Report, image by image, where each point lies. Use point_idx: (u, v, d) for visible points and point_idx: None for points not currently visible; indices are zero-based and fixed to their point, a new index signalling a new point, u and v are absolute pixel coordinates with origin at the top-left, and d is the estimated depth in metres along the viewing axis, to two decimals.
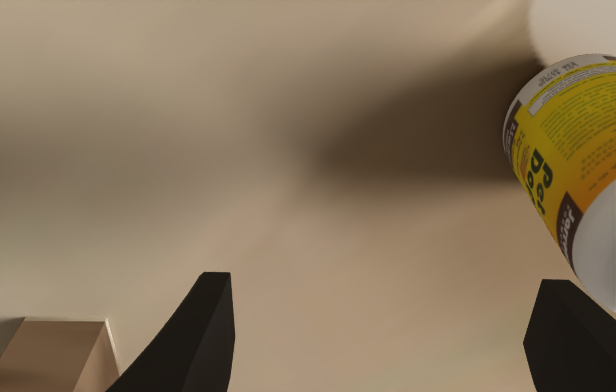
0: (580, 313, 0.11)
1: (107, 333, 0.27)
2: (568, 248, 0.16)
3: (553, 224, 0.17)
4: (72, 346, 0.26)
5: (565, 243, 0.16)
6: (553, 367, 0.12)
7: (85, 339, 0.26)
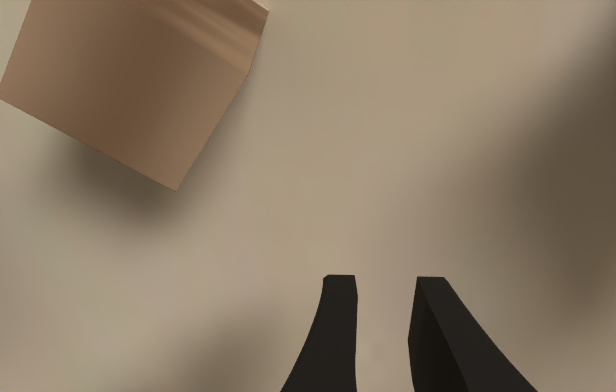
0: (439, 310, 0.11)
1: None
2: None
3: None
4: None
5: None
6: (422, 364, 0.12)
7: None
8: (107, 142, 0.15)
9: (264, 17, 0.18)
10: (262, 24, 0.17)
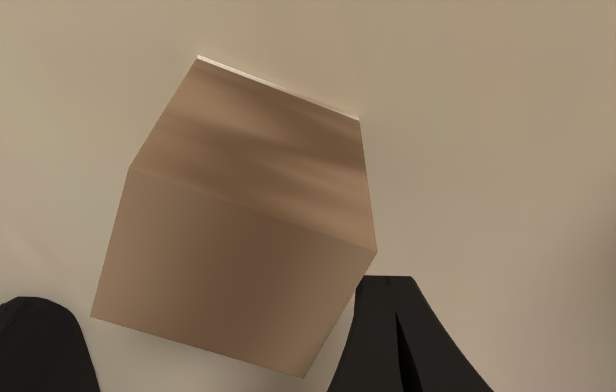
0: (402, 309, 0.11)
1: (222, 69, 0.16)
2: None
3: None
4: None
5: None
6: None
7: None
8: (219, 342, 0.12)
9: (359, 134, 0.16)
10: (361, 148, 0.15)
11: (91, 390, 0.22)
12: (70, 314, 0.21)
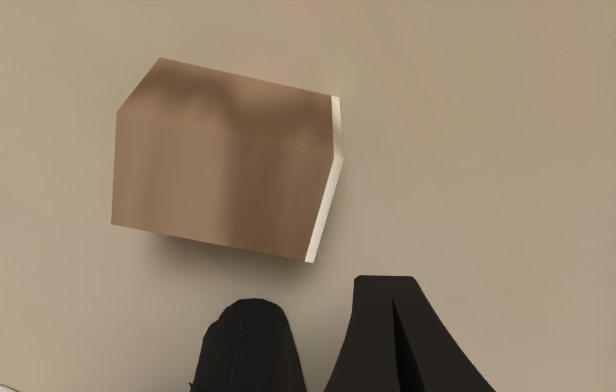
0: (403, 309, 0.11)
1: (331, 104, 0.20)
2: None
3: None
4: None
5: None
6: None
7: None
8: None
9: (300, 149, 0.16)
10: (272, 144, 0.16)
11: (299, 369, 0.27)
12: (280, 308, 0.26)
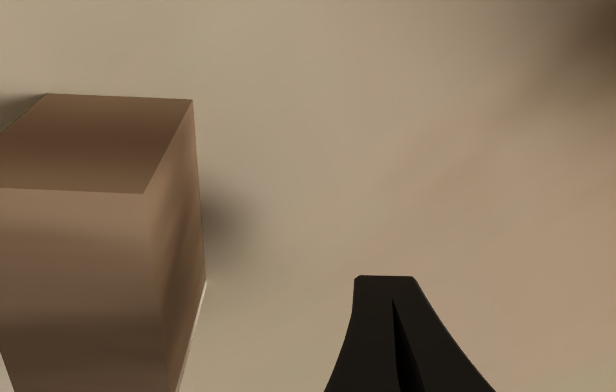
0: (403, 309, 0.11)
1: (200, 294, 0.18)
2: None
3: None
4: None
5: None
6: None
7: None
8: (11, 138, 0.13)
9: (168, 376, 0.14)
10: (165, 352, 0.13)
11: None
12: None
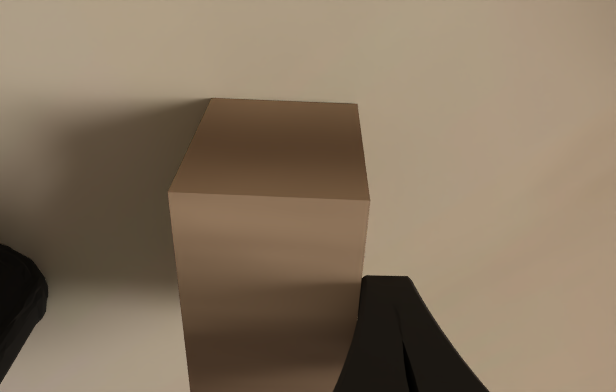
0: (398, 309, 0.11)
1: None
2: None
3: None
4: None
5: None
6: None
7: None
8: (205, 144, 0.13)
9: None
10: None
11: None
12: None
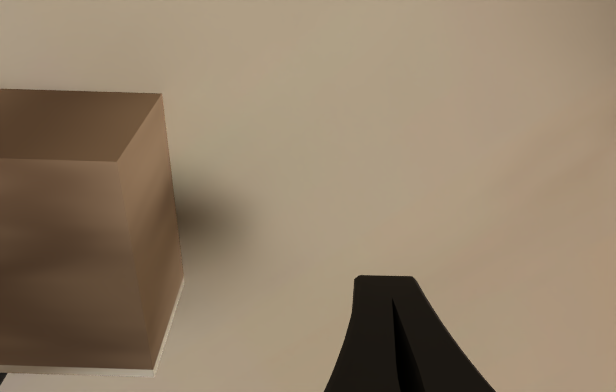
0: (403, 309, 0.11)
1: (125, 368, 0.15)
2: None
3: None
4: (155, 301, 0.15)
5: None
6: None
7: (152, 324, 0.15)
8: (53, 94, 0.15)
9: None
10: None
11: None
12: None
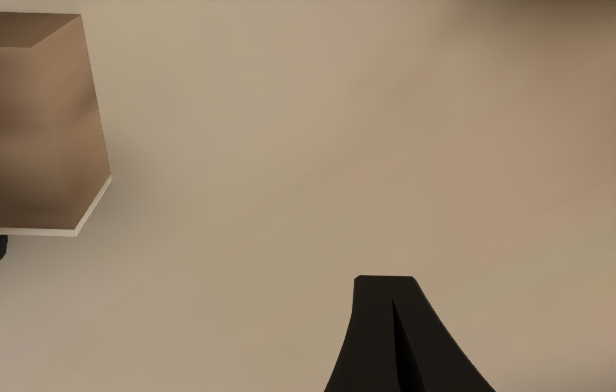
0: (403, 309, 0.11)
1: (52, 228, 0.19)
2: None
3: None
4: (75, 176, 0.19)
5: None
6: None
7: (73, 193, 0.19)
8: None
9: None
10: None
11: None
12: None
